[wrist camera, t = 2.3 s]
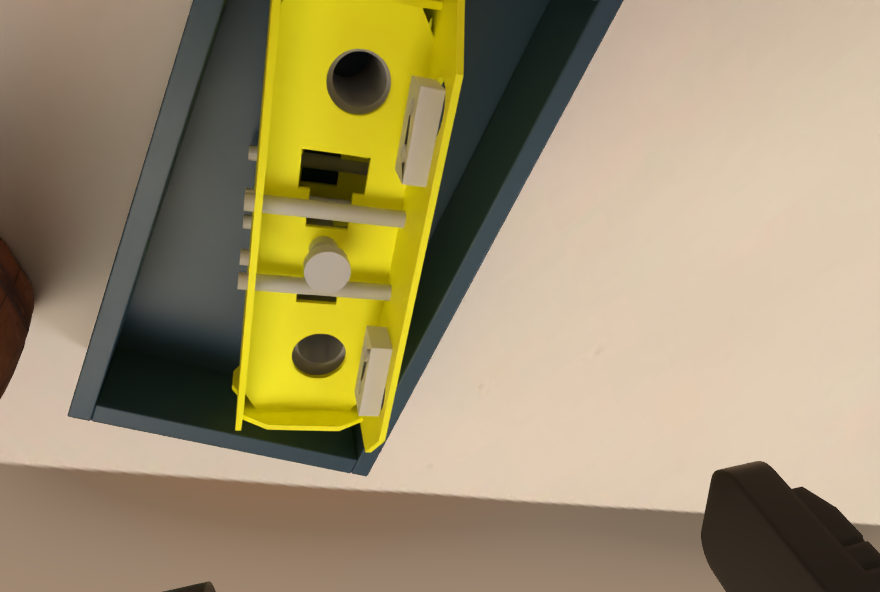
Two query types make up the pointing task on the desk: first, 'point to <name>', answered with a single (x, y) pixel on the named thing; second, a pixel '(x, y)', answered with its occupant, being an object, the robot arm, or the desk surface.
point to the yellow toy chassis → (342, 207)
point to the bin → (230, 172)
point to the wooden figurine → (12, 314)
